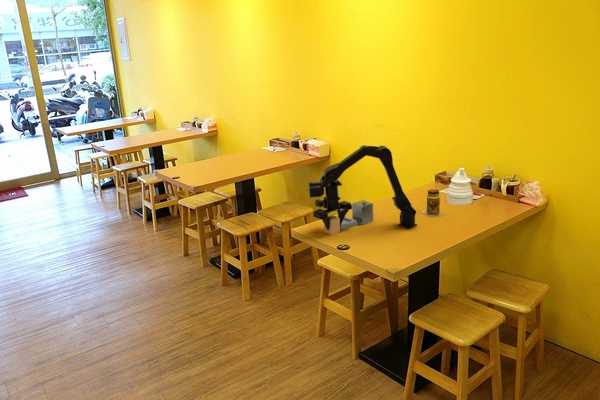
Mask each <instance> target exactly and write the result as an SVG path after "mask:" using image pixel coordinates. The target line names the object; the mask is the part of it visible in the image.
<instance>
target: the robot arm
mask: <svg viewBox="0 0 600 400" xmlns="http://www.w3.org/2000/svg"><path fill="white" fill-rule="evenodd" d="M367 156H368V157H372V158H374V159H375V158H376V159H378V161H380V164H381V165H382V166H383V168H384V170H385V173H386V175H387V178H388V180H389V183H390V186H391V188H392V191H393V193H394V196H392V197H391V199H392V201H393V204H394V205H393V206H395V207H396V209H397V210H399V211H400V212H399V213H400V214H399V223H398V224H397V226H399V227H402V228H405V229H408V230H409V229H411V228H414V227H417V226H418V223H416V214H417V210H416V209H415V208H414V207H413V206H412V203H411V202H410V200H409V198H408V197H407V195H406V194H405V192H404V190H403V187H402V186H401V183H400V180H399V178H398V175H397V172H396V169H395V167H394V162H393V161H394V159H393V154H392V151H391V150H390V149H389V148H388V147H387V146H386V145H379V146H377V145H375V146H374V145H365V144H363V145H361V146H359V148H358V149H357V150H355V151H353V152H352V153H350V154H349V155H348V156H347V157H345V158H344V159H342V160H341V161H339V162H337V163H335V164H332V165H329V166H327V167H326V168H325V169H324V170H323V174H322V176H321V177H320V180H319V181H315V182H312V181H310V182H308V196H309V197H308V198H312V199H313V198H318V199H315V200H314V204H315V207H316V208H319V209H316V210H314V211H313V212H312V216H313V217H314V218H316V219H318V220H322V222H323V225H324V224H325V225H324V228H325V227H326V229H327V230H329V224H330V217H329V214H331V213H334V212H336V213H337V217H339V218H340V225H341V224H342V222H343V219H344V217H345V216H346V215H347V214H348V213H349V211H350V210H352V203H351V202H349V201H346V200H342V201H340V200H341V197H339V187H341V186H343V183H342V181H340V180H339V178H340V177H341V176H342V175H343V173H344V172H345V171H346V170H348V169H349V168H351V167H352V166H354V165H355V164H357V163H358V162H359V161H360V160H362V159H363V158H364V157H367ZM324 195H325V196H324ZM323 196H324V197H323ZM319 197H320V198H322V197H323V199H320V198H319ZM322 208H323V209H322Z"/></svg>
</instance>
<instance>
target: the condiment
mask: <svg viewBox="0 0 600 400" xmlns="http://www.w3.org/2000/svg"><path fill="white" fill-rule="evenodd" d="M440 196H441V195H440V190H439V189H436V188H435V189H433V188H431V189H429V190H427V195H426V210H424V211H421V213H422V214H425V215H427V216H429V217H437V216H438V217H439V216H441V215H444V213H442V212H441V211H440V210H441V208H440V205H441V203H440V202H441V201H440V200H441V197H440Z"/></svg>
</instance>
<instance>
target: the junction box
mask: <svg viewBox="0 0 600 400" xmlns="http://www.w3.org/2000/svg"><path fill="white" fill-rule="evenodd" d="M351 205H352V209H351V215H352V216H351V217H352V218H351V219H354V220H356V221H357V224H359V225H362V226H363V225H366V224H368V223H372V222H374V203H373V202H370V201H367V200H363V199H362V200H359V201H356V202H353V203H351Z"/></svg>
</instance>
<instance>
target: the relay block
mask: <svg viewBox="0 0 600 400" xmlns="http://www.w3.org/2000/svg"><path fill="white" fill-rule="evenodd" d="M328 217H330V224H329V230H327V229H326V227H325V224H324V223H323V225H324V233H326V234H328V235H331V236H333V235H336V234H339V233H341V230H340V218H339V217H338V216H336V215H333V214H332V215H328Z"/></svg>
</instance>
